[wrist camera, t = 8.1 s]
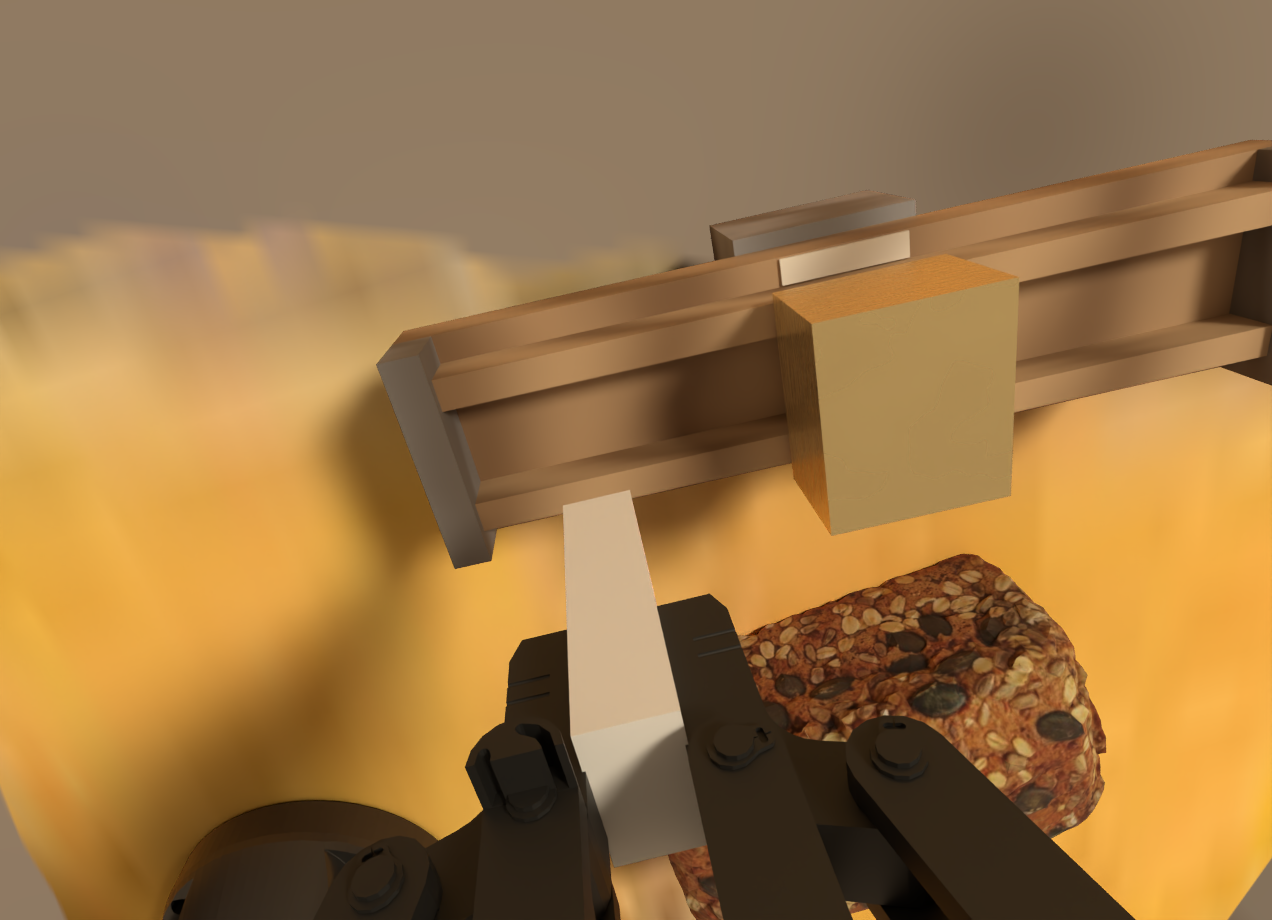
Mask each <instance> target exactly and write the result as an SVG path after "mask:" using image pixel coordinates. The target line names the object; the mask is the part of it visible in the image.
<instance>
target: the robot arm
mask: <svg viewBox="0 0 1272 920" xmlns="http://www.w3.org/2000/svg"><path fill="white" fill-rule="evenodd" d="M563 522H564V552H565V583H566V613H567V630H563V631H559V632H555V633H551V634H546V635H542V636H538V637H534V638H530V639H525V640H522V641H521V643H520V645H519V647H518V648H517V650H516V652H515V653H514V655H513V657H512V659H511V660H510V662H509V675H508V688H507V700H506V703H507V707H506V712H505V722H504V723H502V724H499V725H498V726H496V727H495V728H493V729H492V730H491V731H489V732H488V733H487V734H485V735H484V736H482V738H481V739H480V740H479V741H478V743H477V744H476V745H475V746H474V748H473V749H472V750H471V752H470V755H469V757H468V760H467V763H466V766H465V768H466V771H467V773H468V775H469V778H470V780H471V782H472V784H473V787H474V789H475V791H476V794H477V796H478V798H479V801H480V803H481V805H482V807H483V811H482V812H480V813H479V814H478V815H477V816H476V817H475V818H474V819H473V820H472V821H471V822H469V823H468V824H466V825H465V826H463V827H462V828H460V829H459V830H457V831H456V832H454V833H452V834H450V835H448V836H446V837H445V838H443V839H441V840H439V841H438V840H437V839H435V838H434V837H433V836H432V835H430V834H429V833H428V832H426V831H425V830H423V829H422V828H420V827H418V826H417V825H415V824H413V823H411V822H409V821H407V820H405V819H403V818H401V817H398V816H396V815H393V814H391V813H388V812H385V811H382V810H378V809H375V808H371V807H367V806H362V805H357V804H351V803H343V802H333V801H301V802H290V803H283V804H277V805H272V806H268V807H264V808H260V809H257V810H254V811H250V812H248V813H245V814H242V815H240V816H238V817H236V818H233V819H231V820H229V821H228V822H226V823H224V824H222V825H221V826H219V827H218V828H216V829H215V830H213V831H212V832H211V833H209V834H208V835H207V836H206V837H205V838H204V839H203V840H202V841H201V842H200V843H199V844H198V845H197V846H196V848H195V849H194V850H193V852H192V853H191V855H190V857H189V858H188V860H187V862H186V864H185V866H184V868H183V870H182V872H181V874H180V876H179V878H178V880H177V882H176V884H175V885H174V887H173V889H172V891H171V894H170V896H169V898H168V901H167V904H166V907H165V910H164V915H163V920H621V919H620V909H619V903H618V900H617V897H616V893H615V890H614V887H613V884H612V881H611V869H610V857H609V853H610V856H611V859H612V862H613V865H614V868H615V867H619V866H623V865H627V864H631V863H635V862H639V861H643V860H648V859H652V858H656V857H660V856H664V855H668V854H672V853H676V852H680V851H684V850H689V849H693V848H697V847H701V846H705V845H707V848H708V853H709V857H710V862H711V866H712V871H713V875H714V880H715V884H716V889H717V893H718V898H719V903H720V907H721V912H722V916H723V920H853V919H852V916H851V914H850V911H849V908H848V906H847V903H846V901H850V902H859V903H866V905H867V907H868V908H869V909H870V911H871V912H872V914H873V915H874V917H875V918H876V920H1135V919H1134V918H1133V917H1132V916H1131V915H1130V914H1129V913H1128V912H1127V911H1126V910H1125V909H1124V908H1123V907H1122V906H1121V905H1120V904H1119V903H1118V902H1116V901H1115V900H1114V899H1113V898H1112V897H1111V896H1110V895H1109V894H1108V893H1107V892H1106V891H1105V890H1104V889H1103V888H1102V887H1101V886H1100V885H1099V884H1098V883H1097V882H1096V881H1094V880H1093V879H1092V878H1091V877H1090V876H1089V875H1088V874H1087V873H1086V872H1085V871H1084V870H1083V869H1082V868H1081V867H1080V866H1079V865H1078V864H1077V863H1076V862H1075V861H1074V860H1073V859H1071V858H1070V857H1069V856H1068V855H1067V854H1066V853H1065V852H1064V851H1063V850H1062V849H1061V848H1060V847H1059V846H1058V845H1057V844H1056V843H1055V842H1054V841H1053V840H1052V839H1051V838H1049V837H1048V836H1047V835H1046V834H1045V833H1044V832H1043V831H1042V830H1041V829H1040V828H1039V827H1038V826H1037V825H1036V824H1035V823H1034V822H1033V821H1032V820H1031V819H1030V818H1029V817H1027V816H1026V815H1025V814H1024V813H1023V812H1022V811H1021V810H1020V809H1019V808H1018V807H1017V806H1016V805H1015V804H1014V803H1013V802H1012V801H1011V800H1010V799H1009V798H1008V797H1007V796H1006V795H1004V794H1003V793H1002V792H1001V791H1000V790H999V789H998V788H997V787H996V786H995V785H994V784H993V783H992V782H991V781H990V780H989V779H988V778H987V777H986V776H985V775H984V774H982V773H981V772H980V771H979V770H978V769H977V768H976V767H975V766H974V765H973V764H972V763H971V762H970V761H969V760H968V759H967V758H966V757H965V756H964V755H963V754H962V753H960V752H959V751H958V750H957V749H956V748H955V747H954V746H953V745H952V744H951V743H950V742H949V741H948V740H947V739H946V738H945V737H944V736H943V735H942V734H940V733H939V732H938V731H936V730H935V729H933V728H932V727H930V726H929V725H927V724H926V723H924V722H922V721H918V720H915V719H912V718H909V717H906V716H891V715H883V716H880V717H876V718H872V719H869V720H866V721H864V722H863V723H862V724H860V725H859V726H858V727H856V728H855V729H854V730H852V732H851V734H850V736H849V738H848V740H847V742H842V741H820V740H813V739H805V738H802V737H799V736H796V735H794V734H791V733H789V732H788V731H786V730H784V729H783V728H781V727H779V726H778V725H777V724H776V723H775V722H774V721H773V720H772V719H771V718H770V716H769V714H768V712H767V711H766V709H765V707H764V704H763V702H762V699H761V696H760V694H759V691H758V688H757V686H756V683H755V681H754V678H753V675H752V673H751V670H750V667H749V665H748V662H747V660H746V657H745V654H744V652H743V649H742V648H741V644H740V641H739V638H738V636H737V633H736V632H735V628H734V625H733V623H732V620H731V617H730V615H729V612H728V610H727V608H726V607H725V606H724V605H722V604H721V603H720V602H719V601H718V600H716V599H715V598H714V597H713V596H712V595H710V594H707V595H702V596H698V597H694V598H690V599H686V600H681V601H677V602H673V603H669V604H665V605H660V606H657V603H656V599H655V595H654V590H653V586H652V582H651V578H650V573H649V569H648V565H647V561H646V556H645V552H644V548H643V544H642V539H641V535H640V531H639V527H638V523H637V518H636V514H635V510H634V506H633V501H632V497H631V493H630V490H627V491H623V492H619V493H614V494H610V495H606V496H602V497H597V498H593V499H589V500H585V501H580V502H576V503H572V504H568V505H563Z"/></svg>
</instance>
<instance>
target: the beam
mask: <svg viewBox="0 0 1272 920" xmlns="http://www.w3.org/2000/svg"><path fill="white" fill-rule="evenodd" d="M710 233H711V239H712V246H713V253H714V259H715V261H712V262H708V263H703V264H699V265H694V266H690V267H686V268H681V269H677V270H672V271H668V272H663V273H659V274H655V275H650V276H646V277H641V278H637V279H632V280H628V281H624V282H619V283H615V284H610V285H606V286H601V287H597V288H593V289H588V290H584V291H579V292H575V293H570V294H566V295H562V296H557V297H553V298H548V299H544V300H539V301H535V302H531V303H526V304H522V305H517V306H513V307H508V308H504V309H500V310H495V311H491V312H486V313H482V314H477V315H473V316H469V317H464V318H460V319H455V320H451V321H446V322H442V323H438V324H433V325H429V326H424V327H420V328H415V329H411V330H407V331H403V332H402V334H401V335H400V336H399V337H398V339H397V340H396V341H395V342H394V343H393V345H392V346H391V347H390V348H389V350H388V351H387V352H386V353H385V354H384V356H383V357H382V358H381V359H380V361H379V362H378V363H377V364H376V365H377V368H378V370H379V373H380V376H381V378H382V381H383V383H384V386H385V389H386V391H387V394H388V396H389V399H390V402H391V404H392V407H393V409H394V412H395V415H396V417H397V420H398V422H399V425H400V428H401V430H402V433H403V435H404V438H405V441H406V443H407V446H408V448H409V451H410V454H411V456H412V459H413V461H414V464H415V467H416V469H417V472H418V474H419V477H420V480H421V482H422V485H423V487H424V490H425V493H426V495H427V498H428V500H429V503H430V506H431V508H432V511H433V513H434V516H435V519H436V521H437V524H438V526H439V529H440V532H441V534H442V537H443V539H444V542H445V545H446V547H447V550H448V552H449V555H450V558H451V560H452V563H453V565H454V568H455V569H457V568H462V567H466V566H471V565H475V564H480V563H484V562H488V561H491V560H492V554H493V548H494V543H495V537H496V531H497V529H499V528H503V527H508V526H512V525H517V524H521V523H525V522H530V521H534V520H539V519H543V518H548V517H552V516H557V515H561V514H563V505H568V504H572V503H576V502H580V501H585V500H589V499H593V498H597V497H602V496H606V495H610V494H614V493H619V492H623V491H627V490H630V493H631V497H632V499H633V498H637V497H641V496H646V495H650V494H655V493H659V492H664V491H668V490H673V489H677V488H682V487H686V486H691V485H695V484H699V483H704V482H708V481H713V480H717V479H722V478H726V477H731V476H735V475H740V474H744V473H748V472H753V471H757V470H762V469H766V468H771V467H775V466H780V465H784V464H789V463H792V460H791V451H790V443H789V434H788V426H787V417H786V408H785V400H784V391H783V383H782V374H781V366H780V357H779V349H778V340H777V332H776V323H775V314H774V306H773V297H772V293H774V292H779V291H783V290H788V289H792V288H796V287H801V286H805V285H810V284H814V283H819V282H823V281H827V280H832V279H836V278H841V277H845V276H850V275H854V274H858V273H863V272H867V271H872V270H876V269H881V268H885V267H890V266H894V265H898V264H903V263H907V262H912V261H916V260H921V259H925V258H929V257H934V256H938V255H943V254H949V255H952V256H955V257H958V258H961V259H964V260H967V261H971V262H974V263H977V264H980V265H983V266H986V267H989V268H992V269H996V270H999V271H1002V272H1005V273H1008V274H1011V275H1014V276H1017V277H1019V300H1018V326H1017V351H1016V377H1015V402H1014V413H1016V412H1021V411H1025V410H1029V409H1034V408H1038V407H1043V406H1047V405H1052V404H1056V403H1061V402H1065V401H1070V400H1074V399H1079V398H1083V397H1087V396H1092V395H1096V394H1101V393H1105V392H1110V391H1114V390H1119V389H1123V388H1128V387H1132V386H1137V385H1141V384H1145V383H1150V382H1154V381H1159V380H1163V379H1168V378H1172V377H1177V376H1181V375H1186V374H1190V373H1195V372H1199V371H1203V370H1208V369H1212V368H1217V367H1222V368H1225V369H1227V370H1230V371H1233V372H1236V373H1238V374H1241V375H1244V376H1247V377H1250V378H1252V379H1255V380H1258V381H1261V382H1264V383H1266V384H1269V385H1272V140H1248V141H1244V142H1239V143H1235V144H1230V145H1226V146H1221V147H1217V148H1213V149H1209V150H1204V151H1199V152H1195V153H1191V154H1186V155H1182V156H1177V157H1173V158H1168V159H1164V160H1160V161H1155V162H1151V163H1147V164H1142V165H1137V166H1133V167H1129V168H1124V169H1120V170H1115V171H1111V172H1106V173H1102V174H1098V175H1093V176H1089V177H1084V178H1080V179H1075V180H1071V181H1067V182H1062V183H1058V184H1053V185H1049V186H1045V187H1040V188H1036V189H1031V190H1027V191H1022V192H1018V193H1013V194H1009V195H1005V196H1000V197H996V198H991V199H987V200H982V201H978V202H974V203H969V204H965V205H960V206H956V207H952V208H947V209H942V210H938V211H934V212H929V213H925V214H920V215H916V199H911V198H906V197H901V196H896V195H890V194H885V193H880V192H875V191H870V190H865V191H860V192H856V193H852V194H847V195H843V196H838V197H834V198H829V199H825V200H821V201H816V202H812V203H807V204H803V205H799V206H794V207H790V208H785V209H781V210H777V211H772V212H767V213H763V214H759V215H754V216H750V217H745V218H741V219H736V220H732V221H728V222H724V223H719V224H715V225H710Z"/></svg>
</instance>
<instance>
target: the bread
mask: <svg viewBox="0 0 1272 920" xmlns="http://www.w3.org/2000/svg"><path fill="white" fill-rule="evenodd" d="M738 638H739V641H740V644H741V648H742V649H743V652H744V654H745V657H746V660H747V662H748V665H749V667H750V670H751V673H752V675H753V678H754V681H755V683H756V686H757V688H758V691H759V694H760V696H761V699H762V702H763V704H764V707H765V709H766V711H767V712H768V714H769V716H770V718H771V719H772V720H773V721H774V722H775V723H776V724H777V725H778V726H779V727H781V728H783V729H784V730H786V731H788V732H789V733H791V734H794V735H796V736H799V737H802V738H805V739H813V740H820V741H842V742H847V740H848V738H849V736H850V734H851V732H852V730H854V729H855V728H856V727H858V726H859V725H860V724H862V723H863V722H864V721H866V720H869V719H872V718H876V717H880V716H883V715H891V716H906V717H909V718H912V719H915V720H918V721H922V722H924V723H926V724H927V725H929V726H930V727H932V728H933V729H935V730H936V731H938V732H939V733H940V734H942V735H943V736H944V737H945V738H946V739H947V740H948V741H949V742H950V743H951V744H952V745H953V746H954V747H955V748H956V749H957V750H958V751H959V752H960V753H962V754H963V755H964V756H965V757H966V758H967V759H968V760H969V761H970V762H971V763H972V764H973V765H974V766H975V767H976V768H977V769H978V770H979V771H980V772H981V773H982V774H984V775H985V776H986V777H987V778H988V779H989V780H990V781H991V782H992V783H993V784H994V785H995V786H996V787H997V788H998V789H999V790H1000V791H1001V792H1002V793H1003V794H1004V795H1006V796H1007V797H1008V798H1009V799H1010V800H1011V801H1012V802H1013V803H1014V804H1015V805H1016V806H1017V807H1018V808H1019V809H1020V810H1021V811H1022V812H1023V813H1024V814H1025V815H1026V816H1027V817H1029V818H1030V819H1031V820H1032V821H1033V822H1034V823H1035V824H1036V825H1037V826H1038V827H1039V828H1040V829H1041V830H1042V831H1043V832H1044V833H1045V834H1046V835H1047V836H1048V837H1049V838H1053V837H1055V836H1057V835H1059V834H1060V833H1062V832H1064V831H1066V830H1068V829H1071V828H1073V827H1075V826H1078V825H1079V824H1080V823H1082V822H1083V821H1084V820H1085V819H1087V817H1088V816H1089V815H1090V814H1091V813H1092V812H1093V810H1094V809H1095V806H1096V805H1097V803H1098V801H1099V799H1100V797H1101V795H1102V792H1103V790H1104V784H1105V782H1104V780H1103V779H1102V777H1101V775H1100V758H1099V755H1098V754H1100V753H1106V736H1105V734H1104V732H1103V730H1102V727H1101V720H1100V718H1099V715H1098V713H1097V711H1096V709H1095V706H1094V705H1093V703H1092V702H1091V700H1090V698H1089V693H1088V691H1087V689H1086V687H1085V681H1086V678H1087V674H1086V672H1085V671H1084V669H1083V668H1082V666H1081V665H1080V664H1079V663H1078V662H1077V661H1076V660H1075V650H1074V646H1073V645H1072V643H1071V642H1070V640H1069V638H1068V637H1067V635H1066V634H1065V632H1064V630H1063V629H1062V627H1060V626H1059V625H1058V624H1057V623H1056V622H1055V621H1054V620H1053V619H1052V618H1051V617H1050V616H1049V615H1048V613H1047V612H1046V611H1045V609H1044V608H1043V607H1041V606H1040V605H1038V604H1036V603H1034V602H1033V601H1032V600H1031V599H1030V598H1029V596H1028V595H1027V594H1026V593H1025V592H1024V591H1023V590H1022V589H1020V588H1019V587H1018V586H1017V585H1016V584H1015V582H1014V581H1013V580H1012V579H1011V578H1010V577H1009V576H1007V575H1005V574H1004V573H1003V572H1002V571H1001V569H1000V568H998V567H996V566H994V565H992V564H990V563H988V562H986V561H984V560H983V559H982V558H980V557H979V556H977V555H973V554H970V555H967V554H960V555H957V556H954V557H951V558H948V559H945V560H942V561H940V562H939V563H938V564H937V565H935V566H932V567H928V568H925V569H922V570H919V571H917V572H914V573H911V574H908V575H905V576H899V577H895V578H892V579H890V580H888V581H886V582H885V583H883V584H882V585H881V586H880V587H872V588H867V589H863V590H859V591H856V592H852V593H850V594H848V595H847V596H845V597H844V598H843V599H841V600H840V601H831V602H829V603H828V604H826V605H825V606H821V607H817V608H813V609H810V610H807V611H806V612H805V613H804V614H797V615H792V616H790V617H788V618H786V619H784V620H783V621H781V622H779V623H775V624H768V625H766V626H765V627H764V628H762V629H761V630H760V632H759V634H757V635H752V636H738ZM668 856H669V860H670V863H671V865H672V867H673V870H674V872H675V875H676V877H677V879H678V881H679V883H680V885H681V887H682V889H683V892H684V895H685V898H686V901H687V904H688V906H689V908H690V911H691V913H692V914H693V916H694V917H695V918H696V920H723V916H722V912H721V907H720V903H719V898H718V893H717V889H716V884H715V880H714V875H713V871H712V866H711V862H710V857H709V853H708V848H707V845H705V846H701V847H697V848H693V849H689V850H684V851H680V852H676V853H672V854H668ZM846 903H847V906H848V908H849V911H850V914H851V913H855V912H859V911H862V910H866V909H869V908H868V907H867V905H866V903H859V902H850V901H846Z"/></svg>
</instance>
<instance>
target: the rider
mask: <svg viewBox="0 0 1272 920" xmlns="http://www.w3.org/2000/svg"><path fill="white" fill-rule="evenodd" d="M772 297H773V306H774V314H775V323H776V332H777V340H778V349H779V357H780V366H781V374H782V383H783V391H784V400H785V408H786V417H787V426H788V434H789V443H790V451H791V460H792V468H793V477H794V480H795V481H796V483H797V484H798V486H799V487H800V489H801V490H802V492H803V493H804V495H805V496H806V498H807V499H808V501H809V502H810V504H811V506H812V507H813V509H814V510H815V512H816V513H817V515H818V516H819V518H820V519H821V521H822V522H823V524H824V525H825V527H826V528H827V530H828V531H829V533H830V534H831V536H833V535H838V534H842V533H847V532H851V531H856V530H860V529H865V528H869V527H873V526H878V525H882V524H887V523H891V522H896V521H900V520H905V519H909V518H914V517H918V516H923V515H927V514H932V513H936V512H941V511H945V510H950V509H954V508H958V507H963V506H967V505H972V504H976V503H981V502H985V501H990V500H994V499H999V498H1003V497H1008V496H1011V479H1012V454H1013V428H1014V402H1015V377H1016V351H1017V326H1018V300H1019V277H1017V276H1014V275H1011V274H1008V273H1005V272H1002V271H999V270H996V269H992V268H989V267H986V266H983V265H980V264H977V263H974V262H971V261H967V260H964V259H961V258H958V257H955V256H952V255H949V254H943V255H938V256H934V257H929V258H925V259H921V260H916V261H912V262H907V263H903V264H898V265H894V266H890V267H885V268H881V269H876V270H872V271H867V272H863V273H858V274H854V275H850V276H845V277H841V278H836V279H832V280H827V281H823V282H819V283H814V284H810V285H805V286H801V287H796V288H792V289H788V290H783V291H779V292H774V293H772Z"/></svg>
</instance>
